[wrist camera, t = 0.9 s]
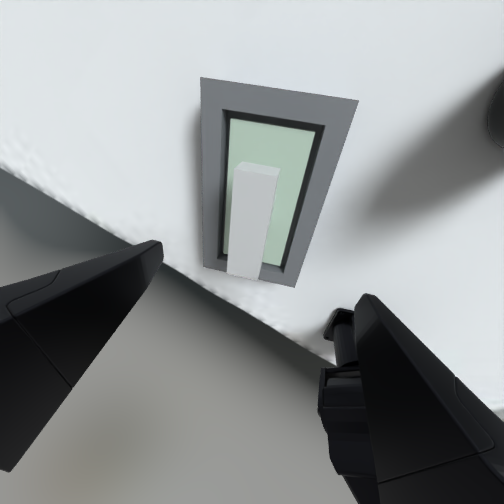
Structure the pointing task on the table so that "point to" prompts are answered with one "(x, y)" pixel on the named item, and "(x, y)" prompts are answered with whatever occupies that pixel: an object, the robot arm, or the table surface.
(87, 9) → the table surface
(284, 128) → the cover
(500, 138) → the supplement bottle
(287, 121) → the case
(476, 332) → the table surface
